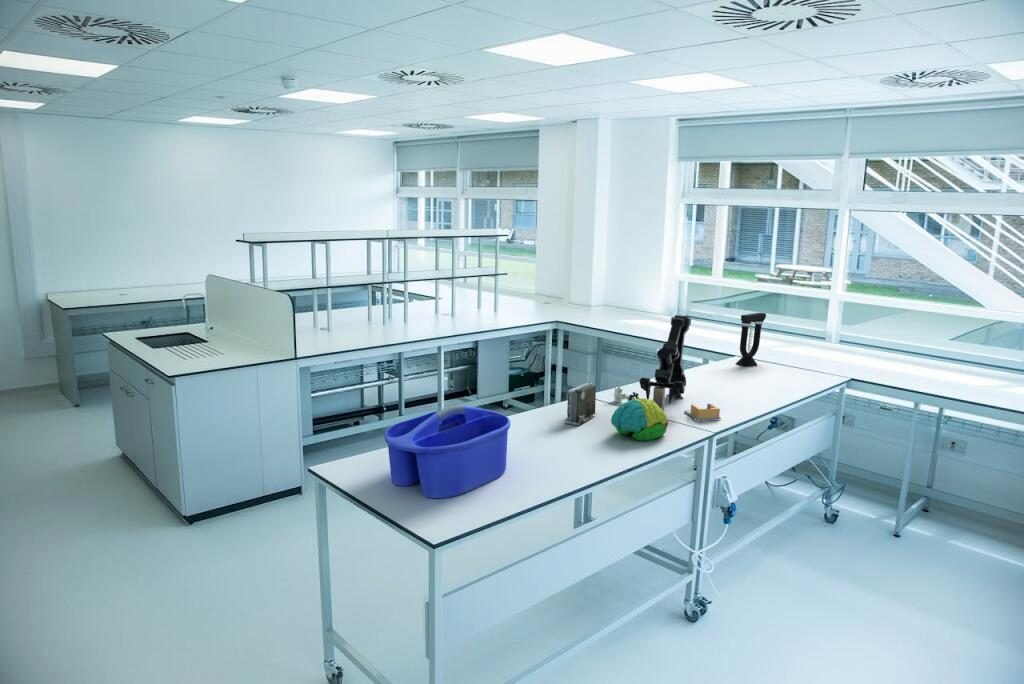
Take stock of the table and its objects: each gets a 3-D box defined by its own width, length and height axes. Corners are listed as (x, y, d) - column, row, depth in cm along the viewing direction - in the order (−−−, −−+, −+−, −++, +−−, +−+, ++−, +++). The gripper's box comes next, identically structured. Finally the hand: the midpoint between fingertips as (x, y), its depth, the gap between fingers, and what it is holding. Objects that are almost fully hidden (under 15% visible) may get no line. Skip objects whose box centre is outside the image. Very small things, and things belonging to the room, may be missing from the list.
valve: (609, 401, 300) (629, 407, 291) (610, 388, 299) (630, 393, 290) (619, 399, 304) (639, 405, 295) (620, 385, 303) (639, 391, 294)
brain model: (634, 447, 239) (637, 408, 237) (599, 433, 254) (602, 396, 252) (677, 438, 253) (680, 401, 250) (641, 425, 268) (644, 390, 266)
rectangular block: (654, 414, 280) (655, 385, 278) (663, 416, 279) (665, 386, 276) (652, 417, 277) (653, 388, 274) (661, 418, 275) (663, 389, 273)
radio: (587, 410, 287) (588, 377, 284) (604, 413, 282) (605, 380, 279) (559, 423, 268) (560, 388, 265) (578, 427, 263) (579, 391, 261)
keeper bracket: (684, 412, 284) (685, 397, 283) (707, 411, 286) (709, 396, 284) (696, 421, 272) (697, 405, 271) (720, 419, 274) (722, 404, 273)
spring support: (748, 368, 368) (752, 316, 362) (728, 364, 377) (732, 314, 372) (767, 363, 381) (771, 313, 375) (748, 360, 390) (752, 310, 385)
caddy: (365, 483, 206) (362, 413, 202) (461, 446, 241) (460, 385, 236) (435, 512, 187) (434, 434, 183) (528, 466, 221) (529, 400, 217)
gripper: (641, 359, 281) (633, 389, 273) (685, 363, 273) (678, 395, 265) (645, 373, 289) (637, 403, 282) (687, 377, 281) (680, 408, 274)
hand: (658, 402), depth 275 cm, fingers open, 9 cm apart
